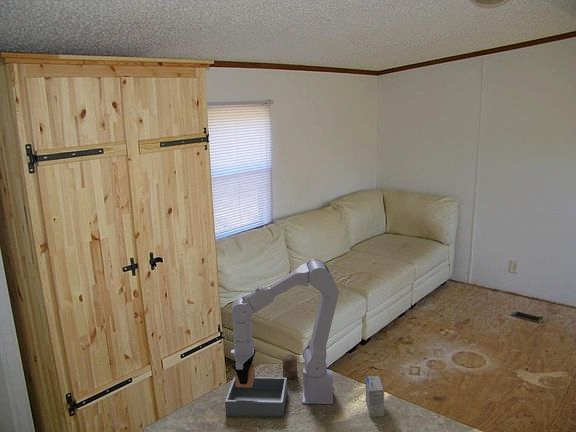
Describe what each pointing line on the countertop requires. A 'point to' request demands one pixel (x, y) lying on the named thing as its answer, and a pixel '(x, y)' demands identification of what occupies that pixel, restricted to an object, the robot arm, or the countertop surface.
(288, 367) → the walnut cylinder
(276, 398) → the slate tote
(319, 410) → the countertop surface
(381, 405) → the medicine box
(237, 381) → the terracotta cube
